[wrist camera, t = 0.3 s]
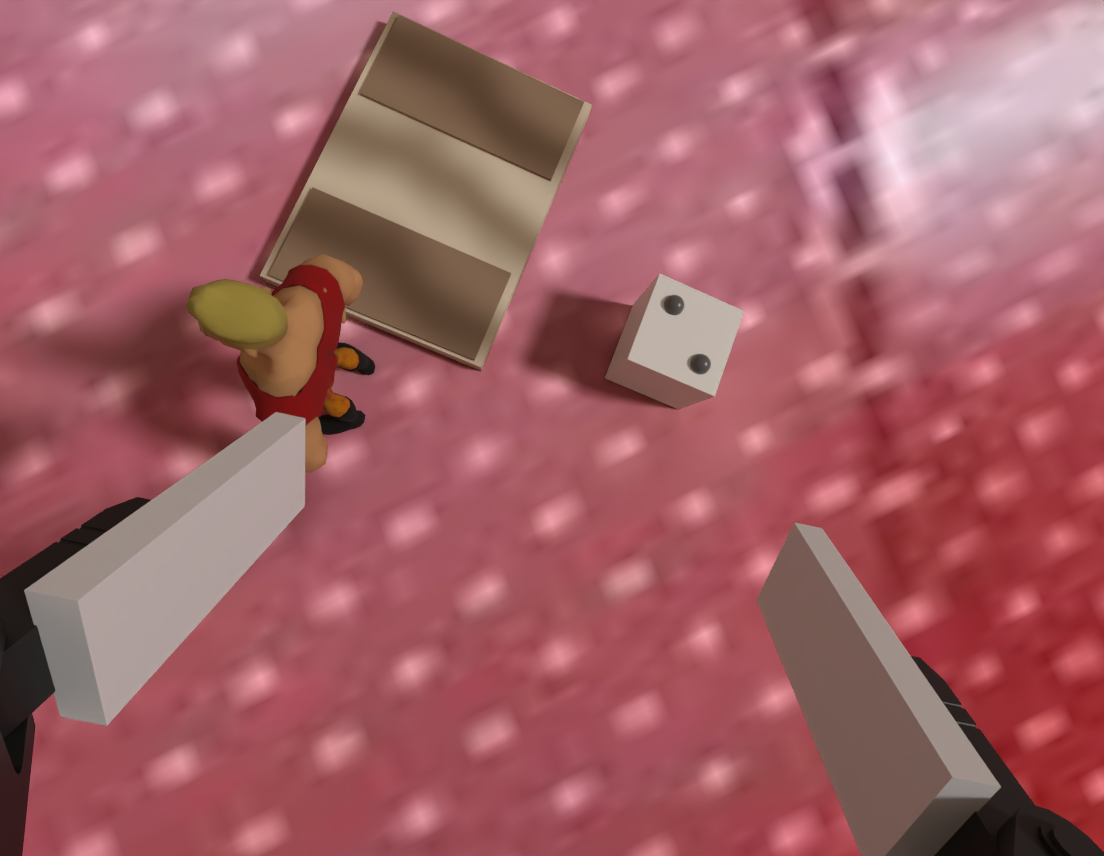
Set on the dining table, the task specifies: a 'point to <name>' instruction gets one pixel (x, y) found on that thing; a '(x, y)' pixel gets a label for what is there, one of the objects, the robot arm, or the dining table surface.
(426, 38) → the board
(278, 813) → the dining table surface
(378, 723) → the dining table surface
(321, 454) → the action figure
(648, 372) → the die
